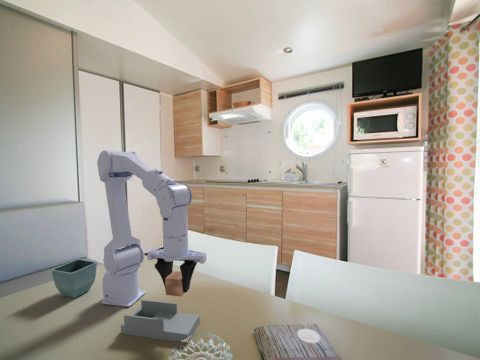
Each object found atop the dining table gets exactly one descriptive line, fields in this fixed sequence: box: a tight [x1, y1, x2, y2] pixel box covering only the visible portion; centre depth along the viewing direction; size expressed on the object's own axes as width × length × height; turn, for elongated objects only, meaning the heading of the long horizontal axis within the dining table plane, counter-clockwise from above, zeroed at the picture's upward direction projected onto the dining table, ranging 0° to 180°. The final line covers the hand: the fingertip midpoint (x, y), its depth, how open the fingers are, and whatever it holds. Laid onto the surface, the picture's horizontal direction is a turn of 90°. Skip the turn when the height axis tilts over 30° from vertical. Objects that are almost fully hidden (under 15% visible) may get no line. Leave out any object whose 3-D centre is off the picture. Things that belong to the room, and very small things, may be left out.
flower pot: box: [51, 259, 98, 299], centre depth 76 cm, size 9×9×9 cm
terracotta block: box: [164, 270, 185, 298], centre depth 58 cm, size 4×4×4 cm
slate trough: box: [120, 299, 201, 343], centre depth 58 cm, size 17×7×4 cm, turn 78°
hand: (177, 289), depth 58 cm, fingers closed on terracotta block, 4 cm apart
